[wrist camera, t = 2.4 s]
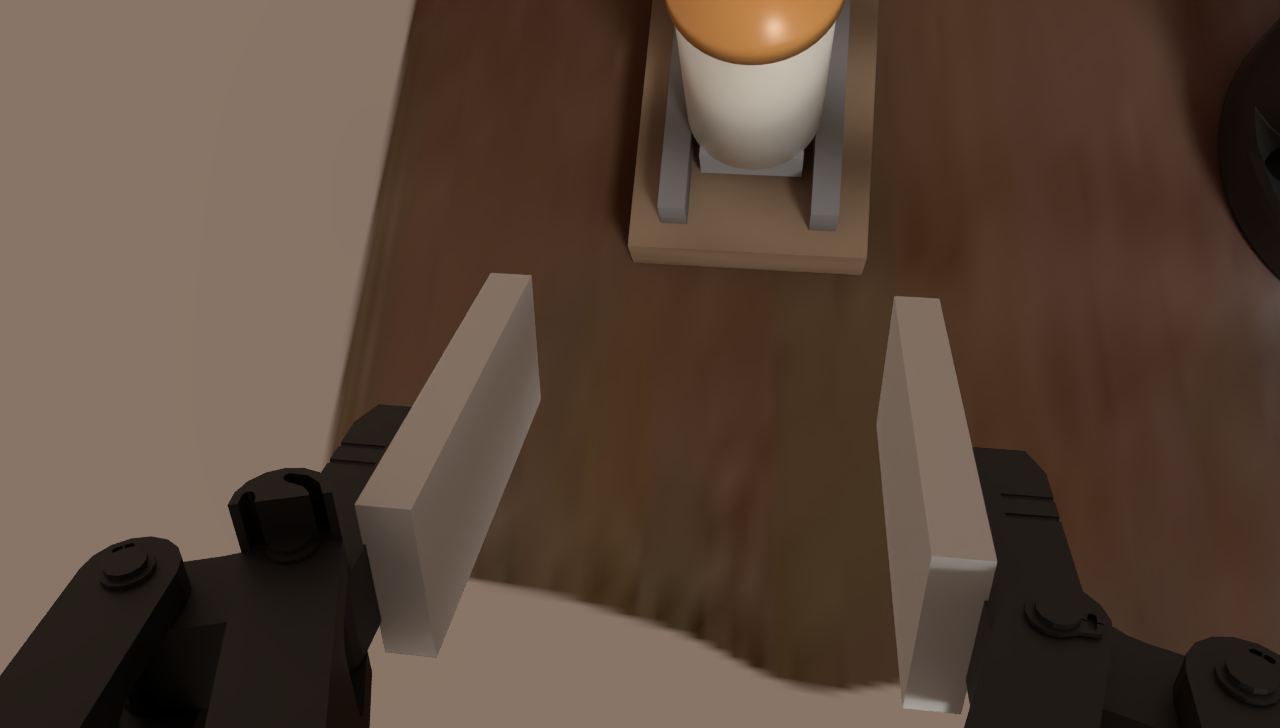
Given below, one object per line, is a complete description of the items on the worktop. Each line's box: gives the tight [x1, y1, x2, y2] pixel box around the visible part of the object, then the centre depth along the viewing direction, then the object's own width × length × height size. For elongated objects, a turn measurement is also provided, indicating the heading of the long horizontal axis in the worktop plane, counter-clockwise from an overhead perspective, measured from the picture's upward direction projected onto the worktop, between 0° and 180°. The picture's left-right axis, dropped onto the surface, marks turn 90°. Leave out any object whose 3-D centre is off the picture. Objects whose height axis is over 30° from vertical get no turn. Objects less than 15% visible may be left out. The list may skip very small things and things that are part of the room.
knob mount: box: [628, 0, 879, 275], centre depth 40 cm, size 20×9×5 cm, turn 175°
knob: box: [665, 0, 845, 177], centre depth 34 cm, size 5×5×10 cm
